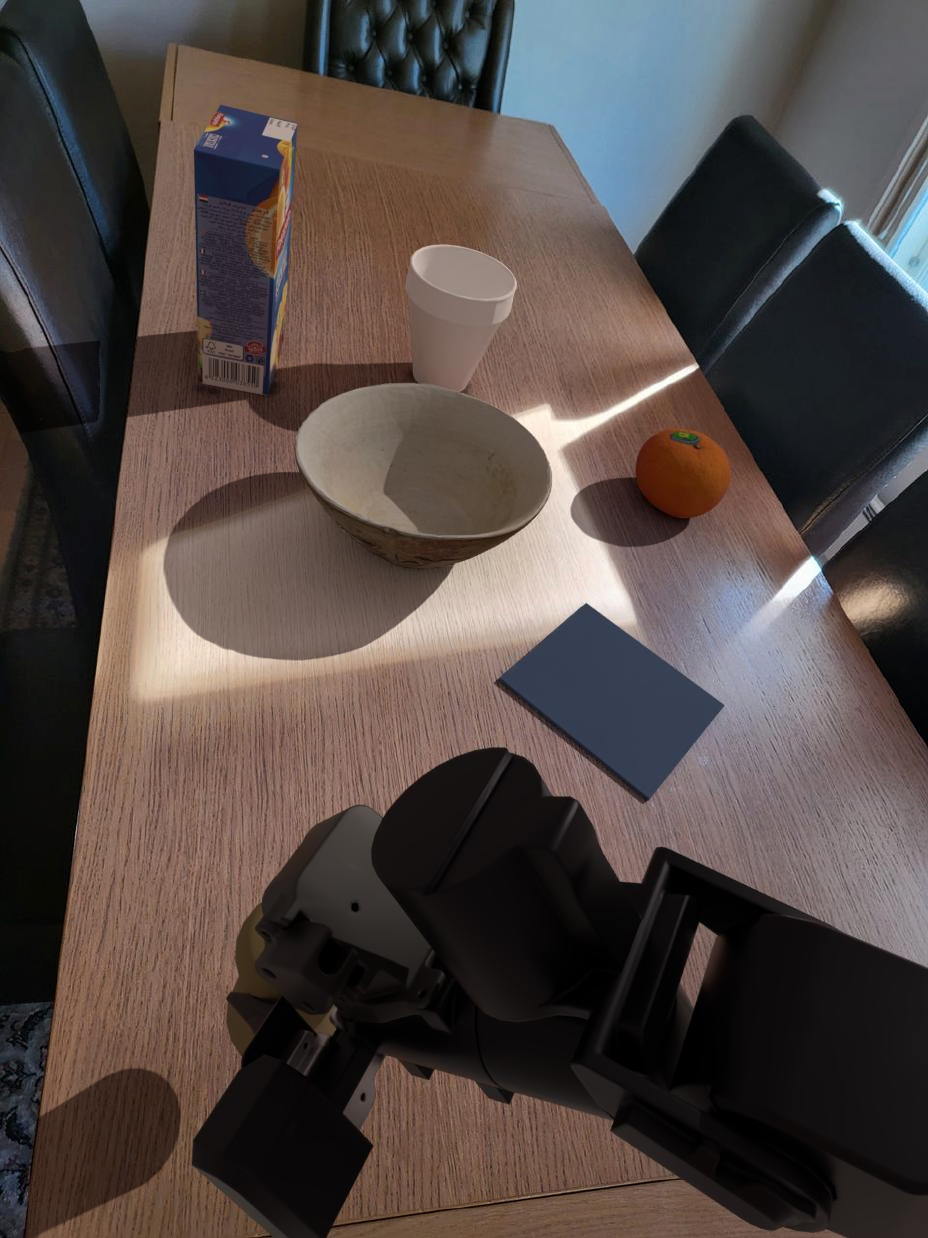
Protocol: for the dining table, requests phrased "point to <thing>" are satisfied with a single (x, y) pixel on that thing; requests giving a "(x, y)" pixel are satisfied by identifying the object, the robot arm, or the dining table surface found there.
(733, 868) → the dining table surface
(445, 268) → the cup
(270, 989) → the cork
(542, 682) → the book
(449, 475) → the bowl
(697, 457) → the fruit
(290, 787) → the dining table surface
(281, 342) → the blue cardboard box
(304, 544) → the dining table surface
